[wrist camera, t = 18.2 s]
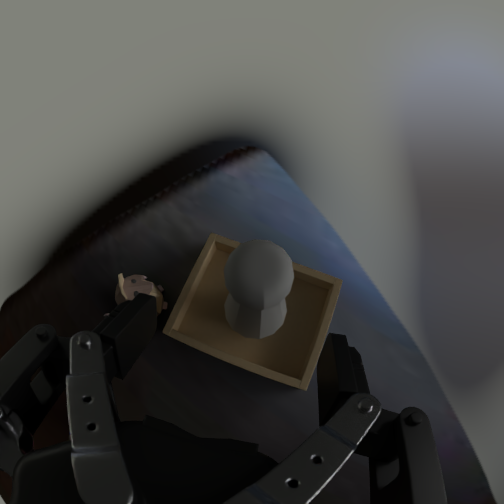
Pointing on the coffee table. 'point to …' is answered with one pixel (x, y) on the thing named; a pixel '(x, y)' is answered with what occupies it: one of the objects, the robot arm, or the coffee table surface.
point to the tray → (249, 349)
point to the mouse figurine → (138, 290)
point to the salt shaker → (257, 288)
